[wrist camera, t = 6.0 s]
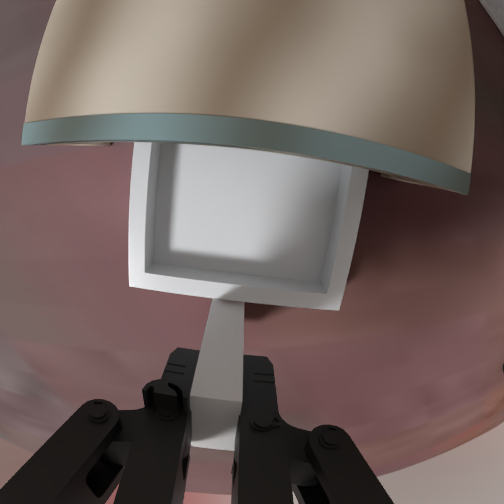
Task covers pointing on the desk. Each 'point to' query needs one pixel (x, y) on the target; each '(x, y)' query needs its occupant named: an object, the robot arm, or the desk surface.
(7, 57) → the desk surface
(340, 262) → the white tray
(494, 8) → the syrup box
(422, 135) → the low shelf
